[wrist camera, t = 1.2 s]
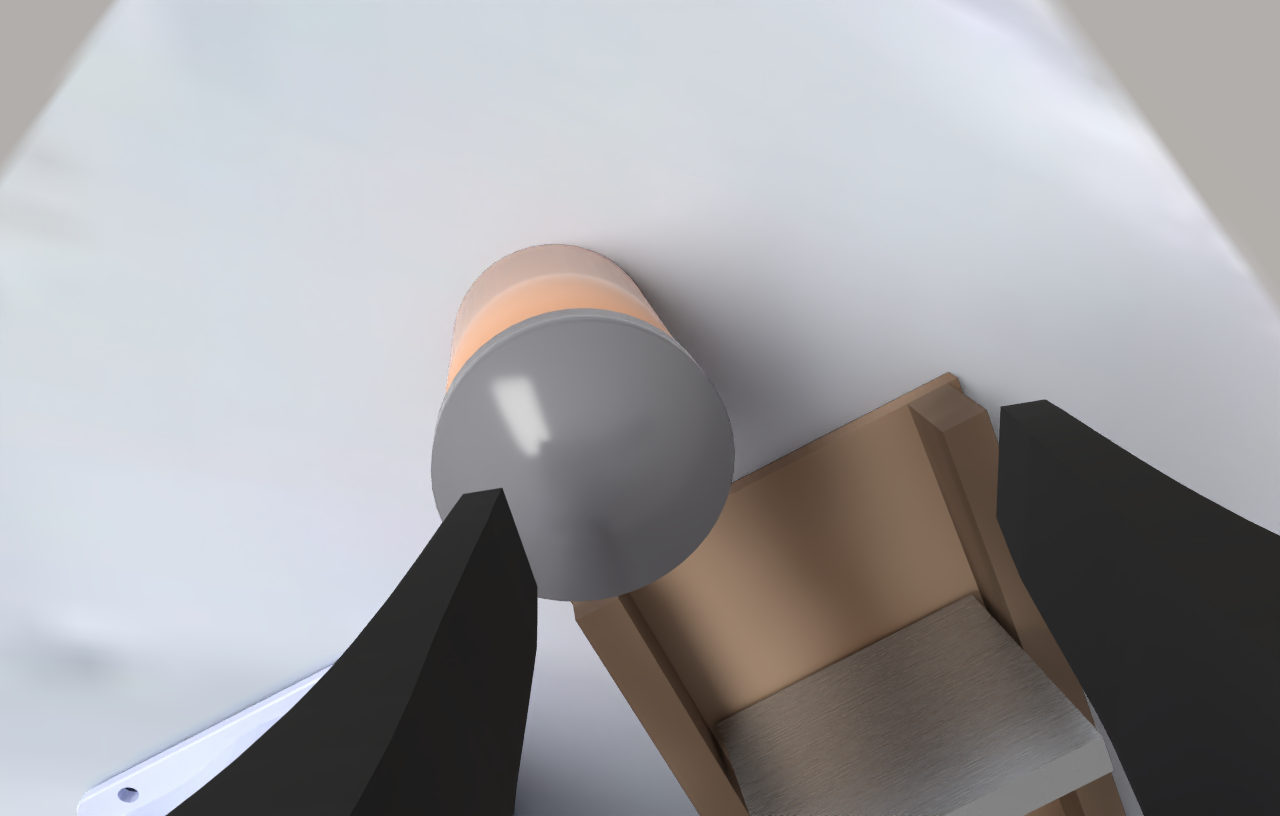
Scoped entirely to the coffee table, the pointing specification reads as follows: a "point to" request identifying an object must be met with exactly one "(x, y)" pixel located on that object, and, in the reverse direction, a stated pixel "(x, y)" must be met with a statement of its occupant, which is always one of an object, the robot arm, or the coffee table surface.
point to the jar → (581, 423)
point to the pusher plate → (917, 730)
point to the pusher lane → (825, 584)
